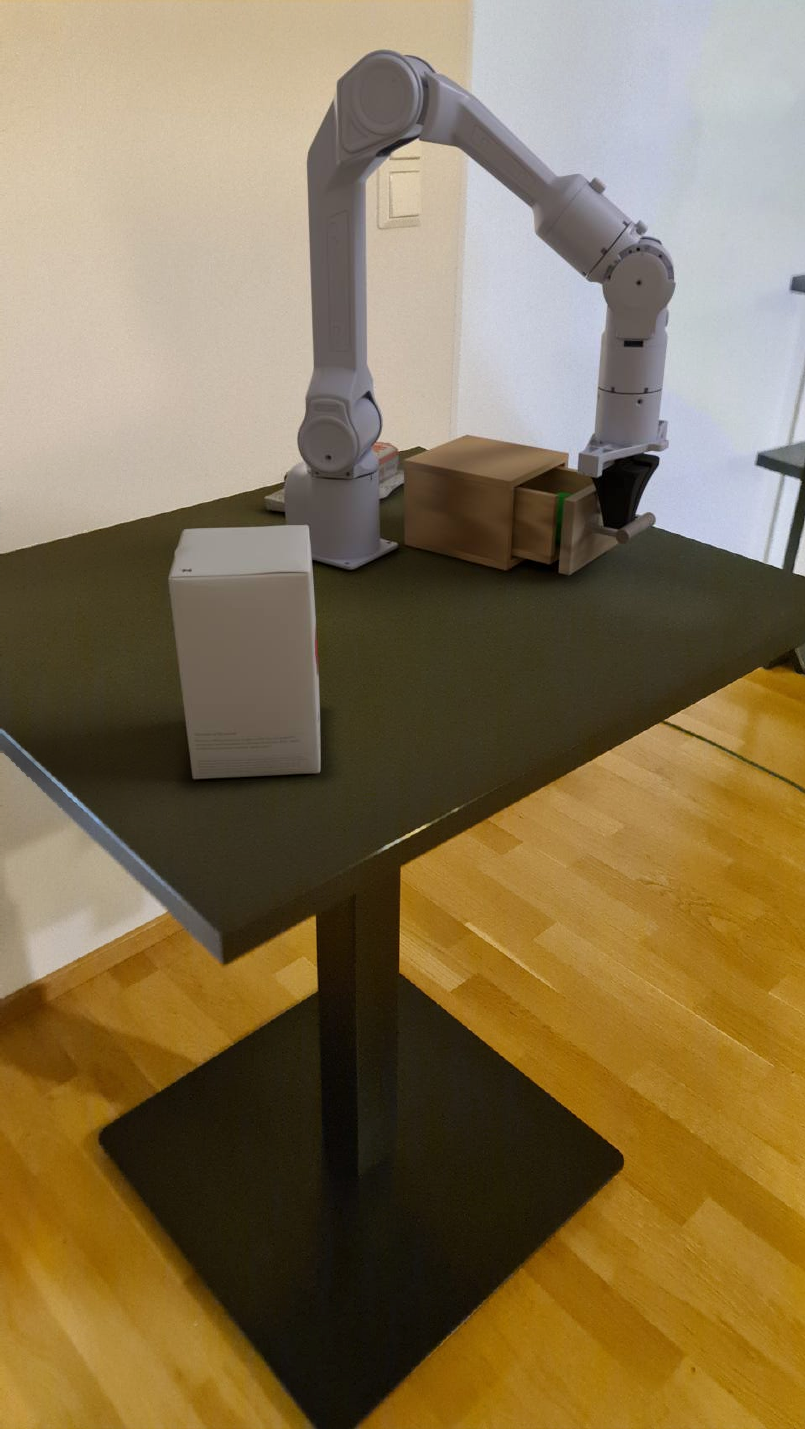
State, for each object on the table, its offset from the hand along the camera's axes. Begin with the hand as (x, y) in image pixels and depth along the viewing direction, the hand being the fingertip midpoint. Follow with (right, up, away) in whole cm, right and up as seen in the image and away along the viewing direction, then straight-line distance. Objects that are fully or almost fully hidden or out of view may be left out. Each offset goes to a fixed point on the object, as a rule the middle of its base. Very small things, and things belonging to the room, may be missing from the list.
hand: (616, 531), depth 99 cm
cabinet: (-12, +1, +10) cm, 16 cm away
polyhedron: (-5, -1, +4) cm, 6 cm away
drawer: (-4, -1, +4) cm, 6 cm away
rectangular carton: (-31, -20, -25) cm, 45 cm away
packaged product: (-28, +8, +23) cm, 37 cm away
